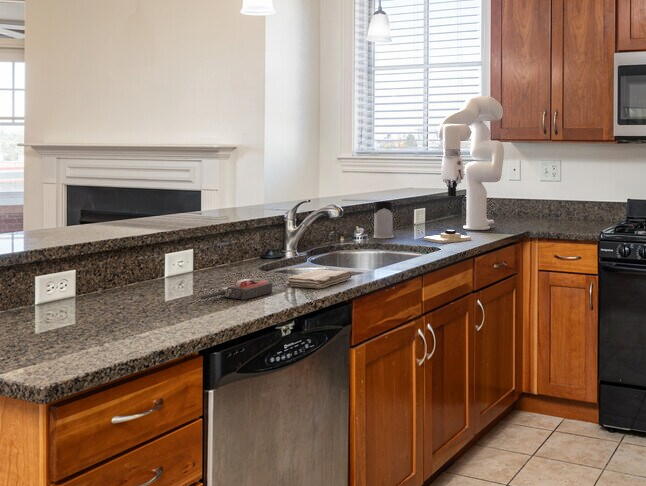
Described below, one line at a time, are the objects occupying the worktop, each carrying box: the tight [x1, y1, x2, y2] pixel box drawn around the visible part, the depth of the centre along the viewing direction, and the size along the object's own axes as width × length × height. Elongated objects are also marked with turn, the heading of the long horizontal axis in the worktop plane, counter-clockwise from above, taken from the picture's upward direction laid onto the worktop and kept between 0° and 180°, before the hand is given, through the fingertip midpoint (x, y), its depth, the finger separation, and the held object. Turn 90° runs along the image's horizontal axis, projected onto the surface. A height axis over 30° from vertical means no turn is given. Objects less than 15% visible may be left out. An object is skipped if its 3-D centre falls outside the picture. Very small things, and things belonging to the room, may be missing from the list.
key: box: [444, 229, 457, 234], centre depth 310 cm, size 3×3×2 cm
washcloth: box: [286, 269, 353, 290], centre depth 218 cm, size 12×18×3 cm, turn 157°
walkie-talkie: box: [200, 278, 273, 301], centre depth 198 cm, size 9×4×20 cm
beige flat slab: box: [423, 232, 472, 244], centre depth 311 cm, size 16×12×3 cm
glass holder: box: [372, 201, 394, 239], centre depth 323 cm, size 9×14×15 cm, turn 10°
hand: (452, 196), depth 319 cm, fingers closed
